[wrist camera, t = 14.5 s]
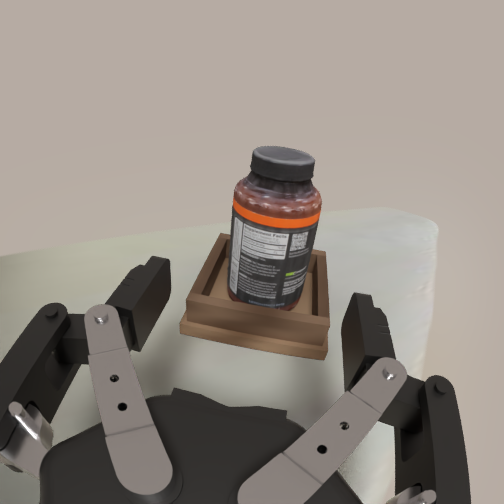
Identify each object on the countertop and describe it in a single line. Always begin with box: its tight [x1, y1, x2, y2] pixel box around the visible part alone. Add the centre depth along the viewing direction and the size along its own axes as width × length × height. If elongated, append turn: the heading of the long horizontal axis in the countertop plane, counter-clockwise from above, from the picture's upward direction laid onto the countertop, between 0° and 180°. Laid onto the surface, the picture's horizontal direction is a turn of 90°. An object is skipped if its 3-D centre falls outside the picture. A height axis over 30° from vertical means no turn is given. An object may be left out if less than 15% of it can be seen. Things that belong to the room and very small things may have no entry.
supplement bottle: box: [227, 146, 322, 311], centre depth 22 cm, size 6×6×11 cm
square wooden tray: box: [180, 233, 330, 360], centre depth 25 cm, size 10×10×3 cm
